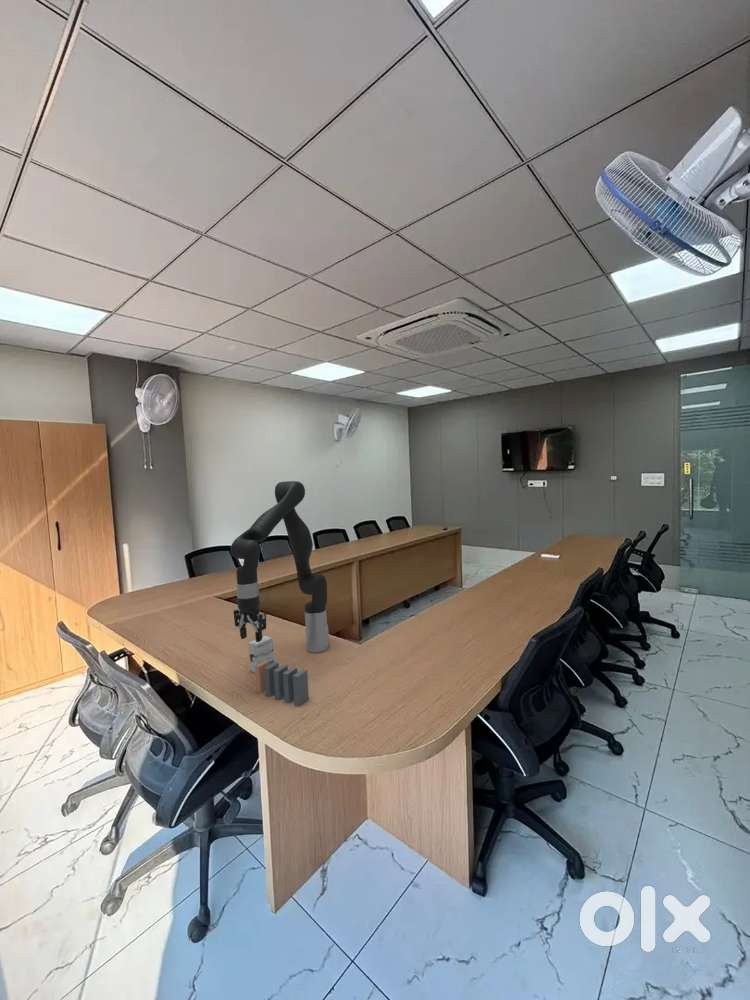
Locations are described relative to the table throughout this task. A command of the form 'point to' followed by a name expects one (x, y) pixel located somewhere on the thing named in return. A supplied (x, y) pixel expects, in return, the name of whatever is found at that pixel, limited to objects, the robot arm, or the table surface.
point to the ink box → (261, 652)
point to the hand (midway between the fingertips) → (251, 639)
